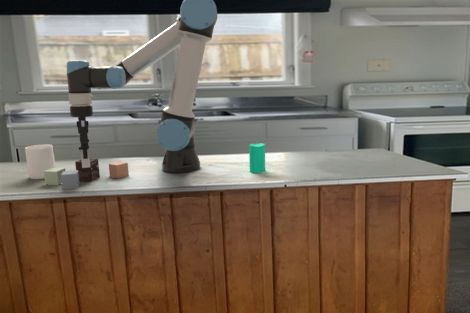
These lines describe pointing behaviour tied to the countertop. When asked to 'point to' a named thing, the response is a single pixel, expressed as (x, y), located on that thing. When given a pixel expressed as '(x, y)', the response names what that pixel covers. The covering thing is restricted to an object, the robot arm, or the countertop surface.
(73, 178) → the cube slate
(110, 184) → the countertop surface
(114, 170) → the cube terracotta
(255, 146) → the candle
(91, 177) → the box
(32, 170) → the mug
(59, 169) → the cube sage
